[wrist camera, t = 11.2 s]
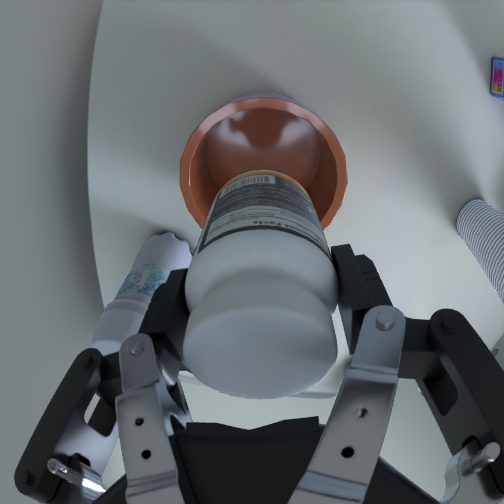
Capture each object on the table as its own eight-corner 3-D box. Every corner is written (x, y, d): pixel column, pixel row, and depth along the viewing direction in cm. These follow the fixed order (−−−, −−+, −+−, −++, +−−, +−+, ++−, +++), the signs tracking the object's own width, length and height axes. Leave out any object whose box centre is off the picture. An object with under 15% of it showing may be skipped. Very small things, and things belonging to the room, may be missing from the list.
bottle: (194, 276, 37) (155, 425, 20) (144, 266, 36) (82, 402, 20) (200, 231, 33) (150, 389, 17) (145, 220, 33) (60, 360, 16)
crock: (217, 220, 32) (205, 263, 26) (186, 108, 26) (159, 120, 19) (332, 202, 31) (350, 241, 24) (316, 83, 24) (336, 86, 17)
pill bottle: (286, 268, 19) (298, 415, 10) (199, 237, 18) (153, 382, 9) (330, 190, 16) (394, 329, 7) (232, 149, 15) (189, 263, 6)
